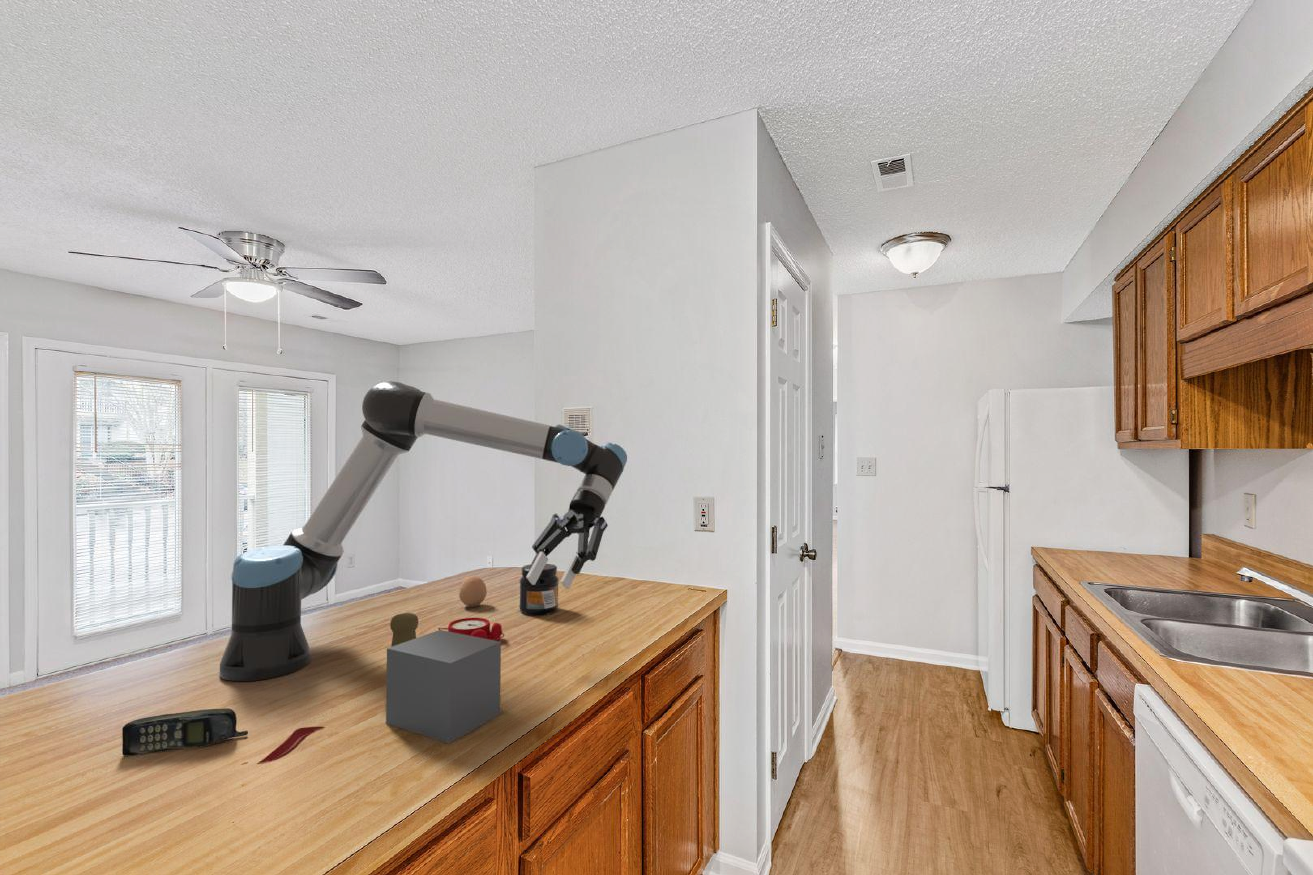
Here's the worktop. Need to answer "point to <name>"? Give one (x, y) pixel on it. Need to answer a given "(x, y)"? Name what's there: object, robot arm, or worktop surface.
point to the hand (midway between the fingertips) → (547, 583)
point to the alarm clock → (476, 628)
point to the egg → (472, 591)
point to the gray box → (443, 684)
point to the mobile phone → (179, 731)
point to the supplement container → (539, 591)
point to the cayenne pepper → (290, 743)
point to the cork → (403, 628)
